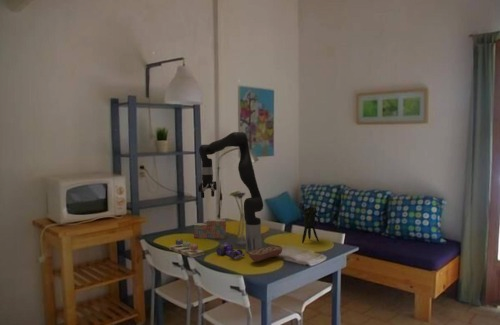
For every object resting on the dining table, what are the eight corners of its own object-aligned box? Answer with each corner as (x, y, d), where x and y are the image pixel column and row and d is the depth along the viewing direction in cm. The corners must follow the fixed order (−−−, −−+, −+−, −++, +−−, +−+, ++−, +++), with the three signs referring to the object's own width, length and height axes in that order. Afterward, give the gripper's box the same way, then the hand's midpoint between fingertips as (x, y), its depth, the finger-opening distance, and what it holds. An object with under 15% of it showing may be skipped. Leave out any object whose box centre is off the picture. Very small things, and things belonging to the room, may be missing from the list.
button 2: (191, 246, 243) (191, 242, 243) (185, 247, 240) (185, 243, 240) (187, 245, 246) (187, 240, 246) (181, 246, 243) (181, 242, 243)
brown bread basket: (256, 264, 218) (256, 255, 218) (244, 260, 226) (244, 251, 226) (285, 256, 234) (285, 247, 233) (273, 252, 241) (273, 244, 241)
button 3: (184, 243, 249) (184, 239, 249) (178, 245, 246) (178, 241, 246) (180, 242, 252) (180, 238, 252) (174, 243, 249) (174, 239, 249)
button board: (204, 254, 237) (204, 251, 237) (191, 257, 231) (191, 254, 231) (182, 246, 255) (181, 243, 255) (169, 249, 249) (169, 246, 249)
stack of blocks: (193, 238, 277) (193, 220, 276) (195, 236, 283) (195, 218, 282) (224, 238, 275) (224, 221, 274) (226, 236, 281) (225, 219, 280)
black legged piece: (310, 238, 273) (310, 201, 271) (325, 240, 265) (325, 203, 264) (293, 243, 259) (293, 205, 257) (308, 247, 251) (308, 207, 250)
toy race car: (235, 259, 228) (235, 248, 228) (216, 255, 237) (216, 244, 237) (246, 255, 235) (246, 244, 235) (227, 251, 245) (227, 240, 244)
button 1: (199, 249, 237) (199, 244, 237) (193, 250, 234) (192, 246, 234) (195, 247, 240) (194, 243, 240) (188, 249, 237) (188, 244, 237)
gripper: (202, 174, 267) (203, 199, 268) (218, 173, 277) (219, 196, 278) (195, 174, 272) (196, 197, 273) (211, 172, 283) (212, 195, 284)
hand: (207, 197), depth 276 cm, fingers open, 8 cm apart
